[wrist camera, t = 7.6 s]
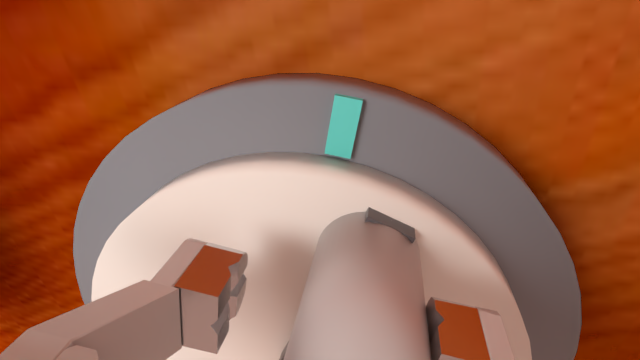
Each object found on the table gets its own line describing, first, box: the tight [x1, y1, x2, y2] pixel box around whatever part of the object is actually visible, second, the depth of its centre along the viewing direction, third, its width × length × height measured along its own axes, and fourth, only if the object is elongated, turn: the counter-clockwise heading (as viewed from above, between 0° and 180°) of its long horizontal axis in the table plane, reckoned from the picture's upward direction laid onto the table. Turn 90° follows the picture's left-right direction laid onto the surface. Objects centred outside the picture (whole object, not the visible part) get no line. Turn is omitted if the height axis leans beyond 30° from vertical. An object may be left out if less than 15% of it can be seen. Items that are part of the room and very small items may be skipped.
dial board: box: [73, 73, 582, 360], centre depth 16 cm, size 20×20×2 cm
